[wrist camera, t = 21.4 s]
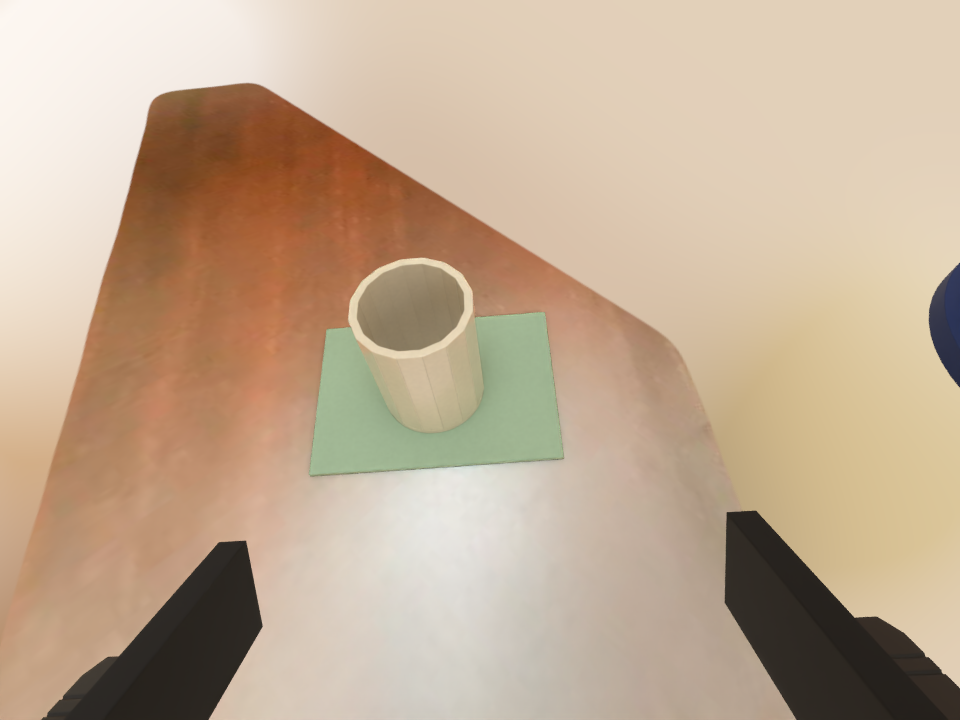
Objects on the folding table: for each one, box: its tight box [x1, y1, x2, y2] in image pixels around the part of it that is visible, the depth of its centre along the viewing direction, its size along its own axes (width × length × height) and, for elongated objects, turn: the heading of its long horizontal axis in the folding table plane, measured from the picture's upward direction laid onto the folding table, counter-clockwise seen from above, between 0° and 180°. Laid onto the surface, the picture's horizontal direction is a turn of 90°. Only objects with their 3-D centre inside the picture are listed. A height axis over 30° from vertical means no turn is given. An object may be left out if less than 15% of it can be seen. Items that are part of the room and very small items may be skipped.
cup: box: [348, 258, 484, 433], centre depth 43 cm, size 8×8×12 cm
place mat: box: [309, 312, 564, 476], centre depth 48 cm, size 20×14×1 cm
